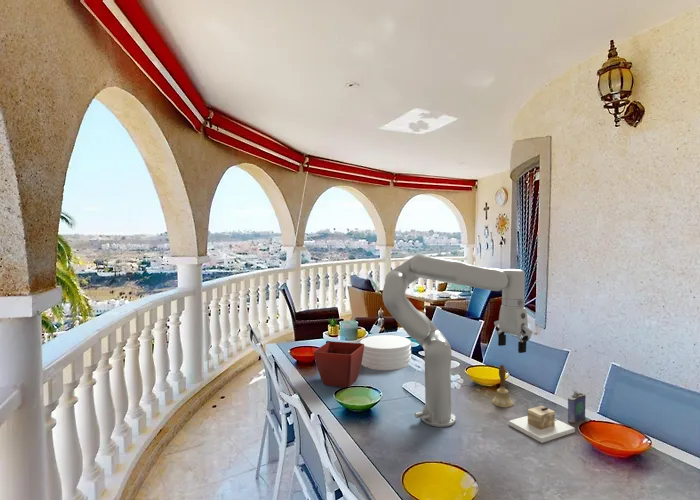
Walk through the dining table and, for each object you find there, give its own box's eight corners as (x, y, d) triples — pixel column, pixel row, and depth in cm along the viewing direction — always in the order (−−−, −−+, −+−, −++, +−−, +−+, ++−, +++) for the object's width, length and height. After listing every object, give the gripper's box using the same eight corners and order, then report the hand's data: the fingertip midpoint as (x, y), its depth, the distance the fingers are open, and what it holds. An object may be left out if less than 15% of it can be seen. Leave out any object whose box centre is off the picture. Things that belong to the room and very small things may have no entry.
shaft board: (541, 442, 131) (541, 428, 131) (509, 424, 144) (508, 411, 144) (574, 432, 137) (574, 417, 137) (540, 415, 150) (540, 402, 150)
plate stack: (377, 351, 239) (377, 333, 239) (420, 359, 223) (419, 339, 222) (350, 364, 217) (349, 343, 216) (395, 374, 200) (394, 351, 200)
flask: (573, 424, 143) (572, 395, 143) (565, 421, 146) (564, 392, 145) (587, 418, 148) (587, 389, 147) (579, 415, 150) (579, 387, 150)
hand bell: (515, 408, 157) (515, 368, 157) (493, 406, 159) (493, 367, 159) (511, 399, 166) (510, 361, 165) (490, 398, 167) (490, 361, 167)
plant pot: (313, 386, 185) (312, 351, 185) (330, 373, 203) (329, 340, 202) (351, 391, 178) (350, 354, 177) (365, 377, 196) (365, 343, 195)
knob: (540, 429, 137) (540, 413, 136) (527, 423, 142) (527, 407, 141) (554, 425, 140) (554, 409, 139) (541, 419, 144) (541, 403, 144)
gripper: (539, 306, 139) (538, 354, 140) (503, 298, 155) (502, 342, 156) (523, 307, 136) (522, 356, 137) (488, 299, 152) (487, 343, 153)
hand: (511, 348), depth 146 cm, fingers open, 9 cm apart
